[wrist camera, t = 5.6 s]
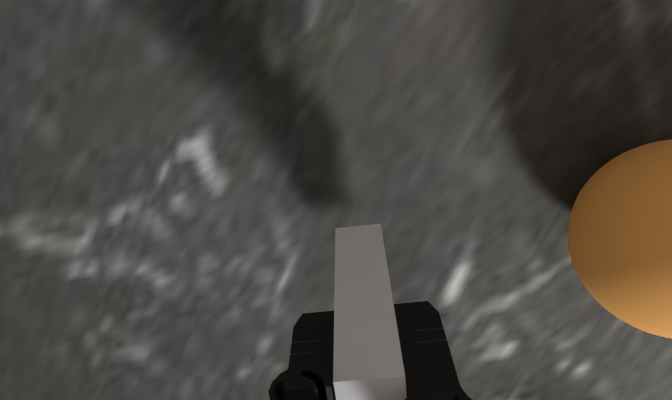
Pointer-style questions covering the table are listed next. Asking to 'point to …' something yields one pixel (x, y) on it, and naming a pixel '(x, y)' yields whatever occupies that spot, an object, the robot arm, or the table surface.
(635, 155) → the ball
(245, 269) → the table surface
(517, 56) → the table surface
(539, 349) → the table surface
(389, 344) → the robot arm
